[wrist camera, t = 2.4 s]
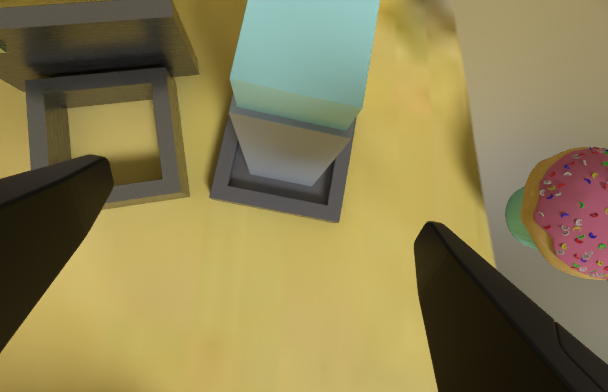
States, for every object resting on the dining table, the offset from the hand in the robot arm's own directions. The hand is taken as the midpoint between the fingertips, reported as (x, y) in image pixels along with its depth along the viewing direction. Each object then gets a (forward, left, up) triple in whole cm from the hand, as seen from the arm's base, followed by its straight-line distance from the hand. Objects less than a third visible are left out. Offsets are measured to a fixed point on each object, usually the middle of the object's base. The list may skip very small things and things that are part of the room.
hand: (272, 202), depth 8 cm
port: (+11, +5, -13) cm, 18 cm away
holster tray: (+3, -4, -13) cm, 14 cm away
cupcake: (-13, -16, -13) cm, 24 cm away
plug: (+3, -4, -13) cm, 14 cm away
